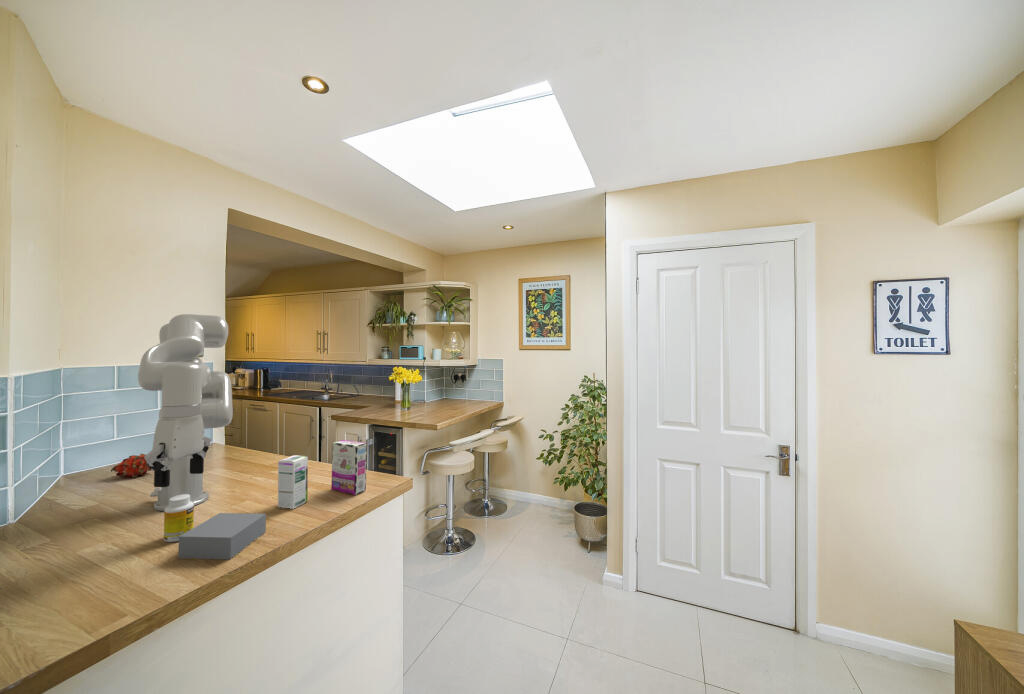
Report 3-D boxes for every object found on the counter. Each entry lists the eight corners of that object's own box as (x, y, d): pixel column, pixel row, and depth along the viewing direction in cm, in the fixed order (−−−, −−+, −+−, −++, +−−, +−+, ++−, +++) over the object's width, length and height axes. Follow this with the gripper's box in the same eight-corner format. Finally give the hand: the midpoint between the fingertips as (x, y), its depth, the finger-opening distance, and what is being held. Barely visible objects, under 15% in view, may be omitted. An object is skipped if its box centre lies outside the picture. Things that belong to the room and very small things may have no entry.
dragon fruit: (160, 476, 138) (114, 489, 130) (159, 459, 142) (114, 470, 134) (156, 462, 133) (108, 474, 125) (155, 445, 138) (108, 455, 130)
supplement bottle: (188, 540, 92) (189, 499, 92) (159, 545, 89) (160, 503, 89) (196, 530, 97) (197, 491, 97) (168, 534, 94) (169, 494, 94)
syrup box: (293, 509, 110) (294, 461, 110) (276, 507, 111) (277, 459, 111) (307, 502, 115) (308, 456, 115) (291, 500, 116) (292, 454, 116)
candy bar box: (366, 490, 125) (367, 442, 125) (355, 495, 121) (356, 446, 121) (342, 485, 130) (343, 439, 130) (330, 490, 125) (331, 442, 125)
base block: (178, 558, 84) (178, 536, 84) (219, 531, 96) (220, 512, 96) (230, 559, 84) (231, 537, 84) (265, 532, 96) (266, 513, 96)
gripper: (196, 406, 101) (194, 469, 101) (131, 417, 84) (129, 492, 84) (223, 407, 102) (221, 469, 101) (164, 417, 84) (162, 492, 84)
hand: (180, 479), depth 92 cm, fingers open, 9 cm apart
